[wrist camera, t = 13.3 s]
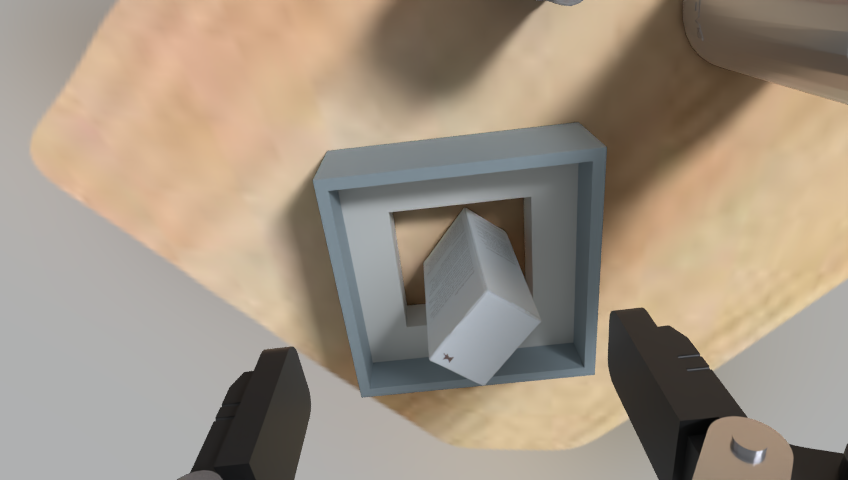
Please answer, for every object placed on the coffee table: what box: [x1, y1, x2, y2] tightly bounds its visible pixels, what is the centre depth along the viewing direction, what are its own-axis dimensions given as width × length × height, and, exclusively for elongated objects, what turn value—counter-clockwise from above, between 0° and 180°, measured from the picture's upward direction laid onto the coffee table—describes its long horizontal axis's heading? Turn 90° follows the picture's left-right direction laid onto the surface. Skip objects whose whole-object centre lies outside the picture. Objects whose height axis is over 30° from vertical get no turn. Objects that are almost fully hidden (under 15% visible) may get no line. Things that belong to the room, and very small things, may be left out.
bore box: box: [313, 122, 607, 397], centre depth 38 cm, size 18×18×6 cm
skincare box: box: [423, 208, 541, 386], centre depth 35 cm, size 6×4×12 cm
